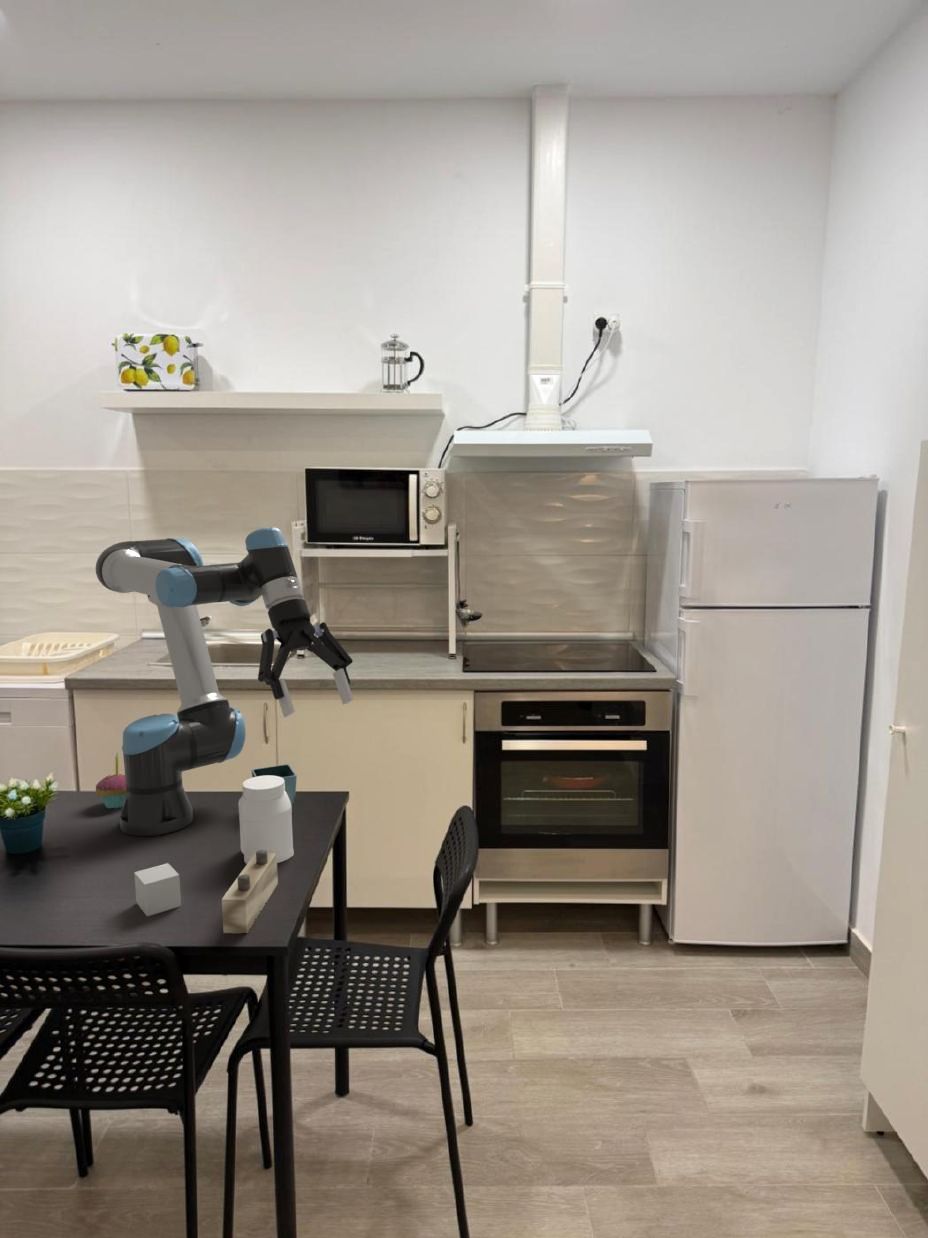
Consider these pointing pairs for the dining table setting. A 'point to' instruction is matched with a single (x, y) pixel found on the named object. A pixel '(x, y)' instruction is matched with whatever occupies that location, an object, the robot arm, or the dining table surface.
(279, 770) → the flower pot
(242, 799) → the jar
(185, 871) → the dining table surface
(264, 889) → the block
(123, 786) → the cupcake
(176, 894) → the white cube
